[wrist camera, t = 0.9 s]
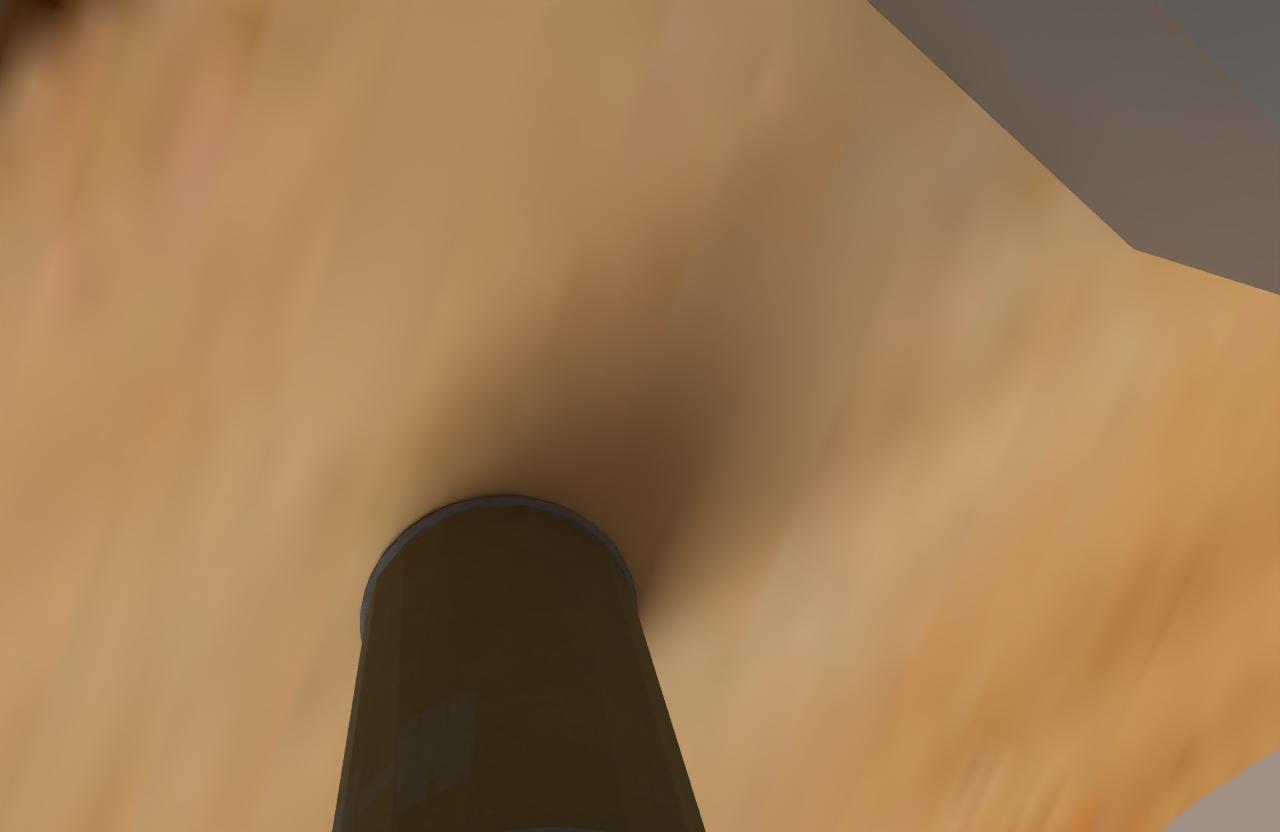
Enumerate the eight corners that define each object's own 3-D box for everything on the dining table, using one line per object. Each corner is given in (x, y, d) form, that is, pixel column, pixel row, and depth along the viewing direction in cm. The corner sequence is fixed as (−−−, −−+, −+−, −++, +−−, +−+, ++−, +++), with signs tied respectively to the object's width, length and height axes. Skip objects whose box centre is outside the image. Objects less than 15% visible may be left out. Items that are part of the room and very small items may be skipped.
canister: (486, 439, 36) (516, 858, 18) (689, 596, 40) (889, 1078, 22) (294, 647, 38) (141, 1230, 19) (507, 780, 42) (548, 1376, 23)
